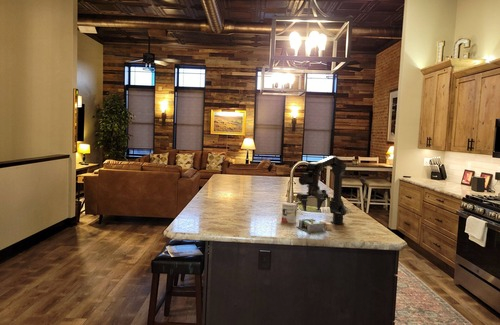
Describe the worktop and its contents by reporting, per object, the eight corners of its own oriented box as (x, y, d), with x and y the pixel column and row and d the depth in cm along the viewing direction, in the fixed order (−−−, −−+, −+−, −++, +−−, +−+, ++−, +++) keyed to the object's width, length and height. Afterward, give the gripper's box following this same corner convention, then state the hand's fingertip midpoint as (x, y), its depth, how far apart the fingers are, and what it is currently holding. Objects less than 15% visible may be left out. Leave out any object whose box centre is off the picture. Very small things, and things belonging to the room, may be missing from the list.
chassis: (296, 227, 224) (297, 219, 224) (312, 226, 229) (312, 218, 228) (309, 233, 212) (310, 224, 211) (325, 232, 216) (326, 223, 216)
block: (319, 226, 229) (319, 220, 228) (323, 226, 230) (323, 220, 230) (327, 229, 221) (327, 224, 221) (331, 229, 223) (331, 223, 222)
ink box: (281, 221, 237) (281, 203, 237) (283, 220, 242) (284, 202, 241) (294, 223, 234) (295, 204, 233) (296, 221, 239) (297, 203, 238)
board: (302, 223, 223) (303, 219, 223) (311, 222, 225) (311, 218, 225) (311, 226, 215) (311, 222, 214) (319, 226, 217) (320, 221, 217)
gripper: (307, 186, 207) (305, 214, 208) (334, 185, 215) (333, 212, 216) (296, 183, 217) (295, 210, 218) (323, 183, 225) (322, 208, 226)
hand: (311, 210), depth 219 cm, fingers open, 9 cm apart
